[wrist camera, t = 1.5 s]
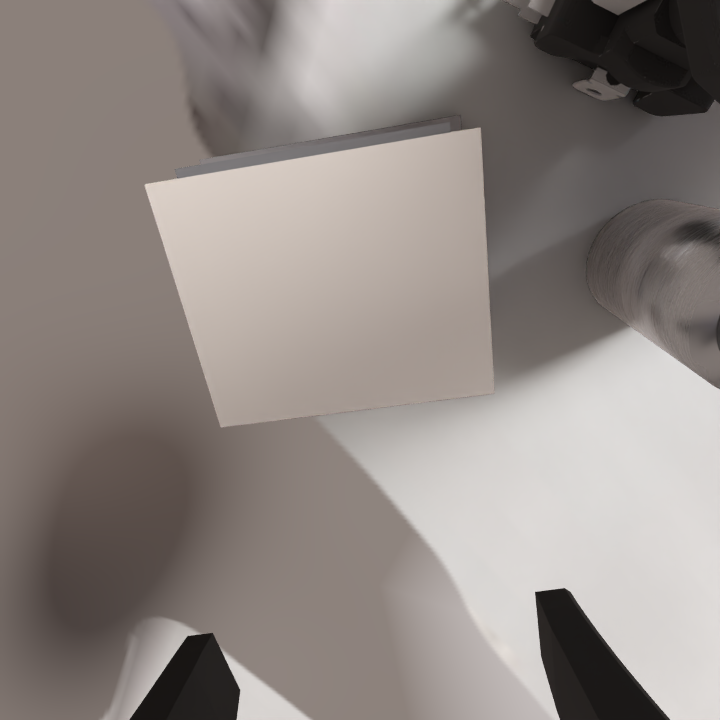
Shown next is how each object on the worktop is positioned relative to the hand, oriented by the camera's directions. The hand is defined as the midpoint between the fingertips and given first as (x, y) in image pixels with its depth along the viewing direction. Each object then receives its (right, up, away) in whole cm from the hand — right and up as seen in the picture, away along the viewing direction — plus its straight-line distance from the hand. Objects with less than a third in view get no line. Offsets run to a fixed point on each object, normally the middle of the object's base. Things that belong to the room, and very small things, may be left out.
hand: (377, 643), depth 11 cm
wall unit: (-1, +10, +6) cm, 12 cm away
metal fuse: (+9, +10, +6) cm, 15 cm away
